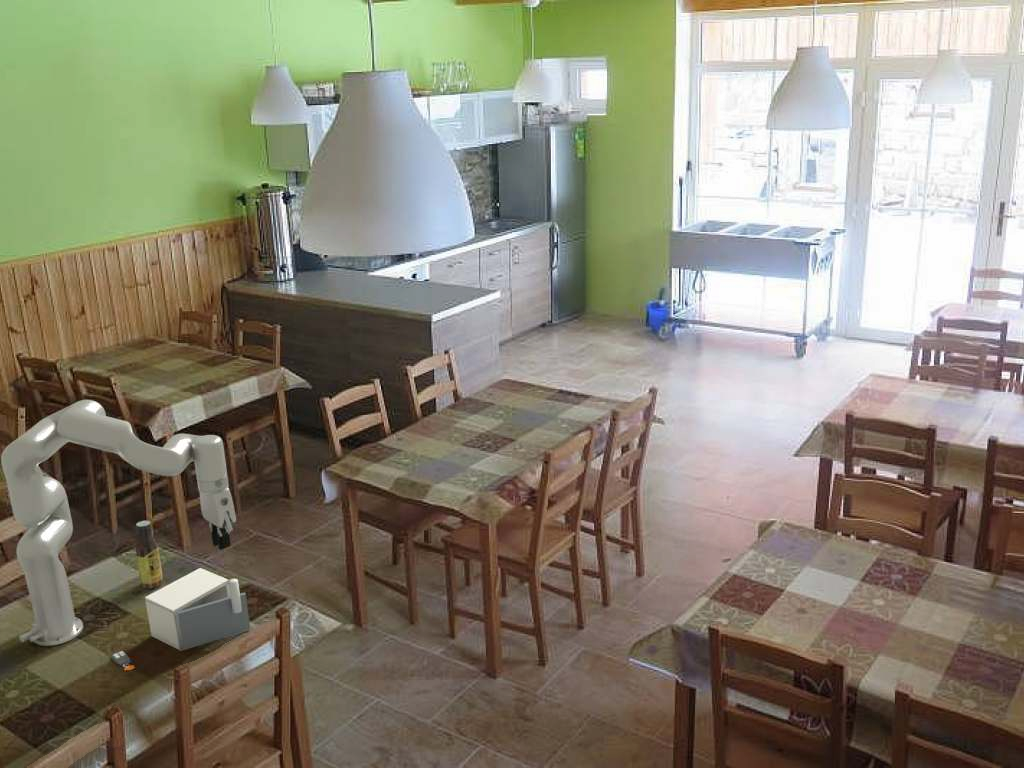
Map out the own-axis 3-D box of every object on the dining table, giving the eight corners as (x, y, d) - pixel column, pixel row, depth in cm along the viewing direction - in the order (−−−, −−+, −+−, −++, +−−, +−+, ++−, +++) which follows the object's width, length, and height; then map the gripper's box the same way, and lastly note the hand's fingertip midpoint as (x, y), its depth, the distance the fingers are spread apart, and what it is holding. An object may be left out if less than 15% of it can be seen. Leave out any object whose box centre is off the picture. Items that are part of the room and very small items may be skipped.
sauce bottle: (156, 590, 281) (145, 530, 275) (137, 588, 282) (126, 528, 276) (168, 579, 287) (158, 519, 281) (149, 577, 289) (138, 518, 282)
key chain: (109, 659, 250) (108, 654, 250) (123, 653, 253) (122, 648, 252) (130, 681, 242) (129, 676, 241) (144, 674, 244) (143, 669, 243)
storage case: (179, 650, 253) (173, 610, 249) (151, 635, 259) (144, 597, 255) (233, 617, 267) (228, 579, 263) (205, 604, 273) (200, 567, 269)
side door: (182, 655, 249) (173, 600, 244) (179, 649, 252) (170, 594, 247) (253, 633, 258) (245, 579, 253) (249, 627, 261) (242, 574, 256)
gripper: (242, 486, 245) (250, 550, 251) (210, 469, 256) (219, 531, 262) (215, 496, 240) (224, 561, 246) (184, 478, 251) (194, 541, 257)
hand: (221, 545), depth 254 cm, fingers closed
